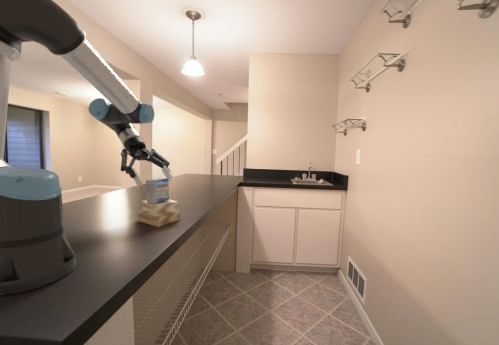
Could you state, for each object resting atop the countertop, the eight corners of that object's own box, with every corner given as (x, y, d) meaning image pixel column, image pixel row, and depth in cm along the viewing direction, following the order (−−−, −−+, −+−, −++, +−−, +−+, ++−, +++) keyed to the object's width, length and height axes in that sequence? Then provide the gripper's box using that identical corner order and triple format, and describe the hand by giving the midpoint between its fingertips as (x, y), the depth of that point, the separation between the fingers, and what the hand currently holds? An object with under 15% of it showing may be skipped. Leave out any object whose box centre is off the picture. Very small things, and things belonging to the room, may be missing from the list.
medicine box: (156, 204, 85) (155, 180, 84) (146, 203, 86) (145, 180, 85) (169, 199, 92) (168, 178, 91) (159, 198, 93) (159, 177, 93)
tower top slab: (155, 216, 82) (155, 205, 82) (142, 211, 90) (141, 201, 89) (178, 211, 89) (177, 201, 89) (164, 206, 96) (163, 197, 96)
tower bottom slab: (158, 228, 82) (157, 217, 82) (138, 222, 89) (138, 212, 88) (180, 220, 91) (180, 211, 90) (160, 215, 97) (160, 206, 97)
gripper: (155, 148, 108) (177, 183, 102) (97, 148, 88) (120, 192, 81) (162, 136, 105) (185, 172, 98) (103, 134, 84) (128, 178, 78)
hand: (156, 181), depth 90 cm, fingers open, 13 cm apart
